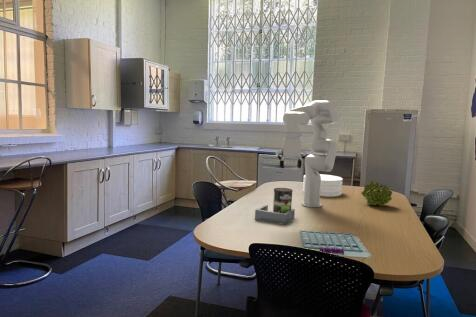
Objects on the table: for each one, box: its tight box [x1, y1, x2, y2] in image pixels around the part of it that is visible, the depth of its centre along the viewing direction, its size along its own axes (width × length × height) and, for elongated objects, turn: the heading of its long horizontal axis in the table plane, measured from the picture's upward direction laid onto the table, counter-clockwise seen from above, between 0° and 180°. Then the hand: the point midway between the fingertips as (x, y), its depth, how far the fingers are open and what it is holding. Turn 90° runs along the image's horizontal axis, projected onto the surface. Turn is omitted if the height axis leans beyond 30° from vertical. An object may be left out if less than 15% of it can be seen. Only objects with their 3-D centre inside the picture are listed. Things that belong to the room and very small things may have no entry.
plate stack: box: [302, 173, 344, 197], centre depth 267 cm, size 28×28×12 cm
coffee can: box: [272, 187, 293, 214], centre depth 201 cm, size 10×10×14 cm
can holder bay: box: [254, 204, 296, 225], centre depth 192 cm, size 14×17×5 cm
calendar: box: [299, 230, 373, 259], centre depth 156 cm, size 27×28×2 cm
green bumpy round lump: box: [360, 180, 393, 207], centre depth 231 cm, size 18×16×16 cm
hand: (290, 167), depth 193 cm, fingers open, 9 cm apart
